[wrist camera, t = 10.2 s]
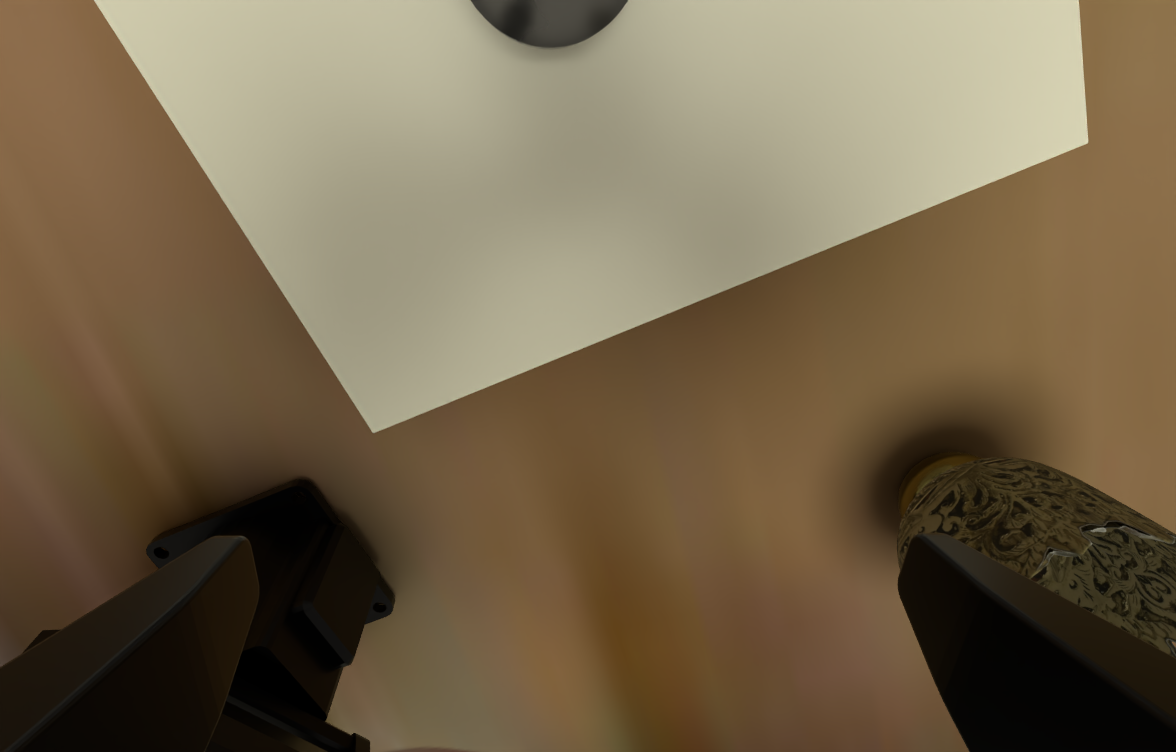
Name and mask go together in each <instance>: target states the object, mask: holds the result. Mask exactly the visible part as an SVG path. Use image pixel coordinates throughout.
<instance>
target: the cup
mask: <svg viewBox="0 0 1176 752" xmlns="http://www.w3.org/2000/svg"><path fill="white" fill-rule="evenodd" d="M898 506H899V512H900V516H901V518H902V521H901V524H900V528H899V533H898V540H897V553H898V563H899V567H900V570H901V567H902V564H903V561H904V558H905V554H906V551H907V548H908V545H909V542H910V540H911V538H912V537H913V536H914V535H916V534H918V533H944V534H947V535H949V536H951V537H953V538H955V539H957V540H959V541H960V542H962V543H964V544H966V545H968V546H970V547H972V548H973V549H975V550H977V551H979V552H981V553H983V554H985V555H986V556H988V557H990V558H992V559H994V560H996V561H997V562H999V563H1001V564H1003V565H1005V566H1007V567H1009V568H1010V569H1012V570H1014V571H1016V572H1018V573H1020V574H1021V575H1023V576H1025V577H1027V578H1029V579H1031V580H1033V581H1034V582H1036V583H1038V584H1040V585H1042V586H1044V587H1045V588H1047V589H1049V590H1051V591H1053V592H1055V593H1057V594H1058V595H1060V596H1062V597H1064V598H1066V599H1068V600H1069V601H1071V602H1073V603H1075V604H1077V605H1079V606H1081V607H1082V608H1084V609H1086V610H1088V611H1090V612H1092V613H1093V614H1095V615H1097V616H1099V617H1101V618H1103V619H1105V620H1106V621H1108V622H1110V623H1112V624H1114V625H1116V626H1117V627H1119V628H1121V629H1123V630H1125V631H1127V632H1129V633H1130V634H1132V635H1134V636H1136V637H1138V638H1140V639H1141V640H1143V641H1145V642H1147V643H1149V644H1151V645H1153V646H1154V647H1156V648H1158V649H1160V650H1162V651H1164V652H1165V653H1167V654H1169V655H1171V656H1173V657H1175V658H1176V648H1175V646H1174V645H1173V644H1172V641H1173V642H1175V643H1176V534H1174V533H1172V532H1171V531H1169V530H1167V529H1166V528H1164V527H1162V526H1161V525H1159V524H1157V523H1155V522H1154V521H1152V520H1150V519H1149V518H1147V517H1145V516H1143V515H1142V514H1140V513H1138V512H1136V511H1135V510H1133V509H1131V508H1129V507H1128V506H1126V505H1124V504H1122V503H1121V502H1119V501H1117V500H1115V499H1114V498H1112V497H1110V496H1108V495H1106V494H1105V493H1103V492H1101V491H1099V490H1098V489H1096V488H1094V487H1092V486H1090V485H1088V484H1086V483H1085V482H1083V481H1081V480H1079V479H1077V478H1075V477H1073V476H1071V475H1069V474H1066V473H1064V472H1062V471H1060V470H1057V469H1054V468H1052V467H1049V466H1046V465H1044V464H1041V463H1037V462H1033V461H1029V460H1024V459H1018V458H985V459H982V458H980V457H977V456H975V455H971V454H967V453H962V452H944V453H939V454H935V455H933V456H930V457H928V458H926V459H924V460H923V461H921V462H920V463H918V464H917V465H916V466H914V467H913V468H912V469H911V470H910V471H909V472H908V474H907V475H906V476H905V478H904V479H903V481H902V483H901V486H900V489H899V493H898Z"/></svg>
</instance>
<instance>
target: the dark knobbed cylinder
mask: <svg viewBox="0 0 1176 752" xmlns="http://www.w3.org/2000/svg"><path fill="white" fill-rule="evenodd" d="M627 1H628V0H471V2H472V3H473V5H474V6H475V8H476V9H477V10H478V11H479V12H480V13H481V14H482V16H483V17H484V18H485V19H486V20H487V21H488V22H489V23H490V24H491V25H492V26H493V27H494V28H496V29H497V30H498V31H499V32H500V33H502V34H503V35H505V36H506V37H508V38H509V39H511V40H514V41H516V42H518V43H520V44H523V45H526V46H529V47H533V48H538V49H561V48H566V47H570V46H574V45H576V44H579V43H581V42H583V41H585V40H587V39H589V38H590V37H592V36H593V35H595V34H596V33H598V32H599V31H601V30H602V29H603V28H605V27H606V26H607V25H608V24H609V23H611V21H612V20H613V19H614V18H615V17H616V16H617V15H618V14H619V13H620V11H621V10H622V9H623V7H624V6H625V4H626V3H627Z"/></svg>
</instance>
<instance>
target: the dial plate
mask: <svg viewBox="0 0 1176 752" xmlns="http://www.w3.org/2000/svg"><path fill="white" fill-rule="evenodd" d="M94 1H95V3H96V4H97V6H98V7H99V9H100V10H101V12H102V13H103V15H104V16H105V18H106V20H107V21H108V23H109V24H110V26H111V27H112V29H113V30H114V32H115V34H116V35H117V37H118V38H119V40H120V41H121V43H122V44H123V46H124V48H125V49H126V51H127V52H128V54H129V55H130V57H131V58H132V60H133V61H134V63H135V65H136V66H137V68H138V69H139V71H140V72H141V74H142V75H143V77H144V79H145V80H146V82H147V83H148V85H149V86H150V88H151V89H152V91H153V93H154V94H155V96H156V97H157V99H158V100H159V102H160V103H161V105H162V106H163V108H164V110H165V111H166V113H167V114H168V116H169V117H170V119H171V120H172V122H173V124H174V125H175V127H176V128H177V130H178V131H179V133H180V134H181V136H182V137H183V139H184V141H185V142H186V144H187V145H188V147H189V148H190V150H191V151H192V153H193V155H194V156H195V158H196V159H197V161H198V162H199V164H200V165H201V167H202V169H203V170H204V172H205V173H206V175H207V176H208V178H209V179H210V181H211V182H212V184H213V186H214V187H215V189H216V190H217V192H218V193H219V195H220V196H221V198H222V200H223V201H224V203H225V204H226V206H227V207H228V209H229V210H230V212H231V214H232V215H233V217H234V218H235V220H236V221H237V223H238V224H239V226H240V227H241V229H242V231H243V232H244V234H245V235H246V237H247V238H248V240H249V241H250V243H251V245H252V246H253V248H254V249H255V251H256V252H257V254H258V255H259V257H260V258H261V260H262V262H263V263H264V265H265V266H266V268H267V269H268V271H269V272H270V274H271V276H272V277H273V279H274V280H275V282H276V283H277V285H278V286H279V288H280V290H281V291H282V293H283V294H284V296H285V297H286V299H287V300H288V302H289V303H290V305H291V307H292V308H293V310H294V311H295V313H296V314H297V316H298V317H299V319H300V321H301V322H302V324H303V325H304V327H305V328H306V330H307V331H308V333H309V335H310V336H311V338H312V339H313V341H314V342H315V344H316V345H317V347H318V348H319V350H320V352H321V353H322V355H323V356H324V358H325V359H326V361H327V362H328V364H329V366H330V367H331V369H332V370H333V372H334V373H335V375H336V376H337V378H338V379H339V381H340V383H341V384H342V386H343V387H344V389H345V390H346V392H347V393H348V395H349V397H350V398H351V400H352V401H353V403H354V404H355V406H356V407H357V409H358V411H359V412H360V414H361V415H362V417H363V418H364V420H365V421H366V423H367V424H368V426H369V428H370V429H371V431H372V432H373V433H375V432H378V431H380V430H383V429H385V428H388V427H390V426H393V425H395V424H398V423H400V422H402V421H405V420H407V419H410V418H412V417H415V416H417V415H420V414H422V413H425V412H427V411H430V410H432V409H434V408H437V407H439V406H442V405H444V404H447V403H449V402H452V401H454V400H457V399H459V398H462V397H464V396H466V395H469V394H471V393H474V392H476V391H479V390H481V389H484V388H486V387H489V386H491V385H494V384H496V383H498V382H501V381H503V380H506V379H508V378H511V377H513V376H516V375H518V374H521V373H523V372H526V371H528V370H531V369H533V368H535V367H538V366H540V365H543V364H545V363H548V362H550V361H553V360H555V359H558V358H560V357H563V356H565V355H567V354H570V353H572V352H575V351H577V350H580V349H582V348H585V347H587V346H590V345H592V344H595V343H597V342H599V341H602V340H604V339H607V338H609V337H612V336H614V335H617V334H619V333H622V332H624V331H627V330H629V329H631V328H634V327H636V326H639V325H641V324H644V323H646V322H649V321H651V320H654V319H656V318H659V317H661V316H663V315H666V314H668V313H671V312H673V311H676V310H678V309H681V308H683V307H686V306H688V305H691V304H693V303H696V302H698V301H700V300H703V299H705V298H708V297H710V296H713V295H715V294H718V293H720V292H723V291H725V290H728V289H730V288H732V287H735V286H737V285H740V284H742V283H745V282H747V281H750V280H752V279H755V278H757V277H760V276H762V275H764V274H767V273H769V272H772V271H774V270H777V269H779V268H782V267H784V266H787V265H789V264H792V263H794V262H796V261H799V260H801V259H804V258H806V257H809V256H811V255H814V254H816V253H819V252H821V251H824V250H826V249H829V248H831V247H833V246H836V245H838V244H841V243H843V242H846V241H848V240H851V239H853V238H856V237H858V236H861V235H863V234H865V233H868V232H870V231H873V230H875V229H878V228H880V227H883V226H885V225H888V224H890V223H893V222H895V221H897V220H900V219H902V218H905V217H907V216H910V215H912V214H915V213H917V212H920V211H922V210H925V209H927V208H929V207H932V206H934V205H937V204H939V203H942V202H944V201H947V200H949V199H952V198H954V197H957V196H959V195H961V194H964V193H966V192H969V191H971V190H974V189H976V188H979V187H981V186H984V185H986V184H989V183H991V182H994V181H996V180H998V179H1001V178H1003V177H1006V176H1008V175H1011V174H1013V173H1016V172H1018V171H1021V170H1023V169H1026V168H1028V167H1030V166H1033V165H1035V164H1038V163H1040V162H1043V161H1045V160H1048V159H1050V158H1053V157H1055V156H1058V155H1060V154H1062V153H1065V152H1067V151H1070V150H1072V149H1075V148H1077V147H1080V146H1082V145H1085V144H1087V143H1088V132H1087V118H1086V103H1085V88H1084V73H1083V58H1082V43H1081V28H1080V13H1079V0H628V1H627V3H626V4H625V6H624V7H623V9H622V10H621V11H620V13H619V14H618V15H617V16H616V17H615V18H614V19H613V20H612V21H611V23H609V24H608V25H607V26H606V27H605V28H603V29H602V30H601V31H599V32H598V33H596V34H595V35H593V36H592V37H590V38H589V39H587V40H585V41H583V42H581V43H579V44H576V45H574V46H570V47H566V48H561V49H538V48H533V47H529V46H526V45H523V44H520V43H518V42H516V41H514V40H511V39H509V38H508V37H506V36H505V35H503V34H502V33H500V32H499V31H498V30H497V29H496V28H494V27H493V26H492V25H491V24H490V23H489V22H488V21H487V20H486V19H485V18H484V17H483V16H482V14H481V13H480V12H479V11H478V10H477V9H476V8H475V6H474V5H473V3H472V2H471V0H94Z"/></svg>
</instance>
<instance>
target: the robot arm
mask: <svg viewBox="0 0 1176 752" xmlns="http://www.w3.org/2000/svg"><path fill="white" fill-rule="evenodd" d="M295 492H300V493H303V494H304V495H305V496H306V497H303V498H302V497H299V496H297V495H296V493H295ZM161 547H162V548H165V549H166V550H168V551H165V550H163V549H162V548H161ZM146 552H147V555H148V557H149V558H150V559H151V560H152V561H153V562H154V564H155V565H156V566H157V567H158V568H159V569H158V570H157V571H155V572H154V573H152V574H150V575H149V576H147V577H145V578H144V579H142V580H141V581H139V582H137V583H136V584H134V585H132V586H131V587H129V588H128V589H126V590H124V591H123V592H121V593H120V594H118V595H116V596H115V597H113V598H111V599H110V600H108V601H107V602H105V603H103V604H102V605H100V606H99V607H97V608H95V609H94V610H92V611H90V612H89V613H87V614H86V615H84V616H82V617H81V618H79V619H78V620H76V621H74V622H73V623H71V624H69V625H68V626H66V627H65V628H63V629H61V630H43V631H42V632H41V633H40V634H39V635H38V636H37V637H36V638H35V640H34V641H33V642H32V643H31V644H30V645H29V646H28V648H27V649H26V650H25V651H24V652H23V653H22V654H21V655H19V656H18V657H16V658H14V659H13V660H11V661H10V662H8V663H6V664H5V665H3V666H2V667H0V752H370V741H369V740H368V739H366V738H364V737H362V736H360V735H358V734H356V733H354V734H352V735H350V734H348V733H346V732H344V731H342V730H340V729H339V728H337V727H335V726H333V725H331V724H329V723H327V722H325V721H326V719H327V716H328V713H329V710H330V707H331V704H332V701H333V698H334V694H335V691H336V688H337V685H338V682H339V679H340V676H341V673H342V670H343V667H345V666H348V665H351V663H352V662H353V659H354V656H355V654H356V650H357V647H358V644H359V641H360V638H361V634H362V631H363V628H364V625H365V624H368V623H370V622H373V621H376V620H378V619H381V618H384V617H386V616H388V615H390V614H391V612H392V611H393V608H394V604H395V598H394V595H393V594H392V593H391V591H390V590H389V589H388V587H387V586H386V584H385V583H384V582H383V580H382V579H381V577H380V572H379V571H378V569H377V568H376V566H375V565H374V564H373V562H372V561H371V559H370V558H369V557H368V555H367V554H366V553H365V551H364V550H363V548H362V547H361V546H360V544H359V543H358V541H357V540H356V539H355V537H354V536H353V534H352V533H351V532H350V530H349V529H348V527H347V526H345V525H343V524H342V523H341V522H340V521H339V519H338V518H337V516H336V515H335V514H334V512H333V511H332V509H331V508H330V507H329V505H328V504H327V503H326V501H325V500H324V498H323V497H322V496H321V494H320V493H319V491H318V490H317V489H316V487H315V486H314V485H313V484H312V483H311V482H309V481H306V480H300V479H299V480H294V481H292V482H289V483H287V484H284V485H282V486H279V487H277V488H275V489H272V490H270V491H267V492H265V493H262V494H260V495H257V496H255V497H252V498H250V499H247V500H245V501H242V502H240V503H237V504H235V505H232V506H230V507H227V508H225V509H222V510H220V511H217V512H215V513H213V514H210V515H208V516H205V517H203V518H200V519H198V520H195V521H193V522H190V523H188V524H185V525H183V526H180V527H178V528H175V529H173V530H170V531H168V532H165V533H163V534H160V535H158V536H157V537H155V538H154V539H153V540H152V541H151V543H150V544H149V545H148V547H147V549H146ZM898 591H899V595H900V598H901V601H902V603H903V606H904V608H905V611H906V613H907V616H908V618H909V620H910V623H911V625H912V628H913V630H914V633H915V635H916V638H917V640H918V643H919V645H920V647H921V650H922V652H923V655H924V657H925V660H926V662H927V665H928V667H929V669H930V672H931V674H932V677H933V679H934V682H935V684H936V686H937V688H938V691H939V693H940V695H941V697H942V700H943V702H944V704H945V706H946V708H947V710H948V712H949V714H950V716H951V718H952V720H953V721H954V723H955V725H956V727H957V729H958V731H959V733H960V735H961V737H962V739H963V740H964V742H965V744H966V746H967V748H968V750H969V752H1176V658H1175V657H1173V656H1171V655H1169V654H1167V653H1165V652H1164V651H1162V650H1160V649H1158V648H1156V647H1154V646H1153V645H1151V644H1149V643H1147V642H1145V641H1143V640H1141V639H1140V638H1138V637H1136V636H1134V635H1132V634H1130V633H1129V632H1127V631H1125V630H1123V629H1121V628H1119V627H1117V626H1116V625H1114V624H1112V623H1110V622H1108V621H1106V620H1105V619H1103V618H1101V617H1099V616H1097V615H1095V614H1093V613H1092V612H1090V611H1088V610H1086V609H1084V608H1082V607H1081V606H1079V605H1077V604H1075V603H1073V602H1071V601H1069V600H1068V599H1066V598H1064V597H1062V596H1060V595H1058V594H1057V593H1055V592H1053V591H1051V590H1049V589H1047V588H1045V587H1044V586H1042V585H1040V584H1038V583H1036V582H1034V581H1033V580H1031V579H1029V578H1027V577H1025V576H1023V575H1021V574H1020V573H1018V572H1016V571H1014V570H1012V569H1010V568H1009V567H1007V566H1005V565H1003V564H1001V563H999V562H997V561H996V560H994V559H992V558H990V557H988V556H986V555H985V554H983V553H981V552H979V551H977V550H975V549H973V548H972V547H970V546H968V545H966V544H964V543H962V542H960V541H959V540H957V539H955V538H953V537H951V536H949V535H947V534H944V533H918V534H916V535H914V536H913V537H912V538H911V540H910V542H909V545H908V548H907V551H906V554H905V558H904V561H903V564H902V567H901V570H900V574H899V577H898ZM378 602H380V603H384V604H385V605H380V604H378Z"/></svg>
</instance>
